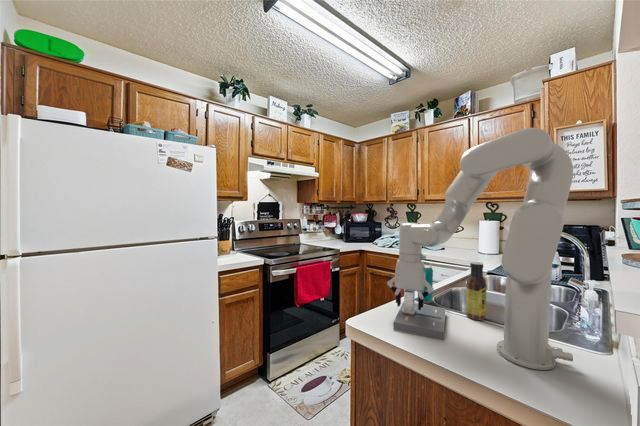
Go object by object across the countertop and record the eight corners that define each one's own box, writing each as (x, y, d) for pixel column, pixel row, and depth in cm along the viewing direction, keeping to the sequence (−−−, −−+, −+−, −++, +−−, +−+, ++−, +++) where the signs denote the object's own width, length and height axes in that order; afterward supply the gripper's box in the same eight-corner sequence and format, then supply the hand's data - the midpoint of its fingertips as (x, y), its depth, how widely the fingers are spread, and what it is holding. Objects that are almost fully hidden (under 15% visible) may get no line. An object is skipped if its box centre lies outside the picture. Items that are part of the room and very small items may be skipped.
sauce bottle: (485, 322, 91) (487, 266, 90) (465, 318, 94) (466, 264, 94) (485, 315, 97) (487, 262, 96) (466, 312, 100) (467, 260, 99)
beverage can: (429, 299, 113) (430, 264, 113) (434, 304, 108) (434, 268, 107) (416, 298, 114) (416, 264, 113) (419, 303, 108) (420, 267, 108)
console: (445, 314, 97) (445, 308, 97) (443, 340, 80) (443, 331, 79) (403, 307, 104) (403, 301, 104) (393, 329, 86) (393, 321, 86)
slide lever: (415, 309, 95) (416, 289, 94) (414, 315, 90) (414, 293, 90) (404, 307, 97) (404, 287, 96) (402, 312, 92) (402, 291, 92)
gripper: (437, 257, 92) (436, 307, 93) (387, 253, 100) (387, 299, 101) (436, 262, 85) (435, 315, 86) (383, 257, 93) (382, 306, 94)
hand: (409, 306), depth 93 cm, fingers open, 6 cm apart
